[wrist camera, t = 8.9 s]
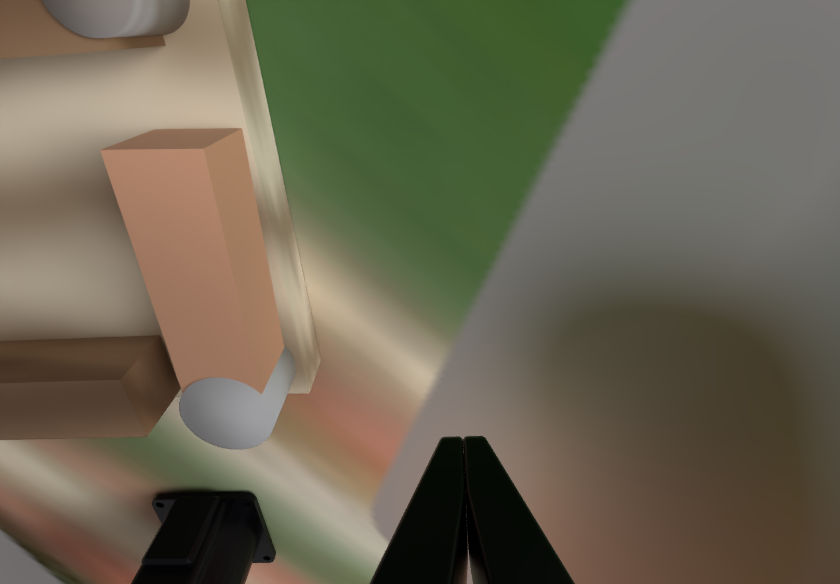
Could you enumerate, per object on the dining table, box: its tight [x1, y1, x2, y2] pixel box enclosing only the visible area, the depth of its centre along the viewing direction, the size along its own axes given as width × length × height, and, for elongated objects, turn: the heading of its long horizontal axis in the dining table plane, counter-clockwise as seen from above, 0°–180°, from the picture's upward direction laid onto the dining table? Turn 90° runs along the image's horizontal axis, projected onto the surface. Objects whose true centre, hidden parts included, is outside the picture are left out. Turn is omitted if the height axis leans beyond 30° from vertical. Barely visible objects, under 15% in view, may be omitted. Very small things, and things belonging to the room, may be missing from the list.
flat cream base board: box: [0, 0, 321, 440], centre depth 18 cm, size 18×18×6 cm
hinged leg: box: [100, 128, 296, 449], centre depth 18 cm, size 12×4×3 cm, turn 1°
